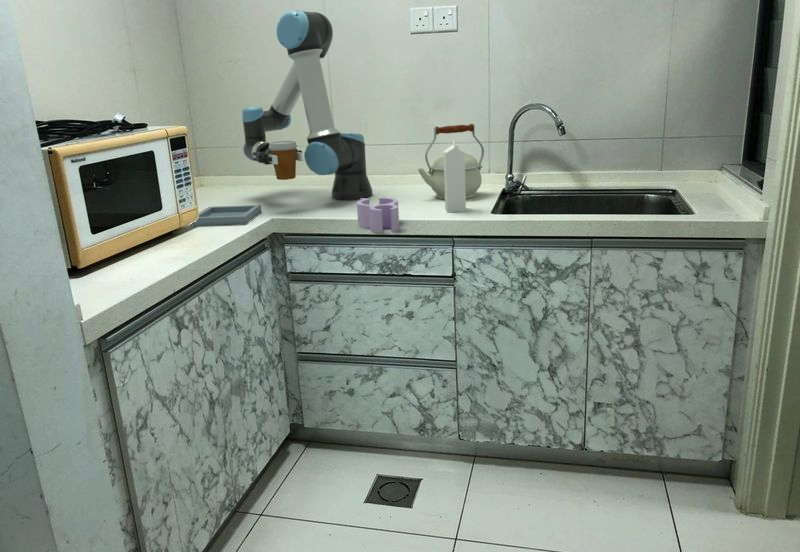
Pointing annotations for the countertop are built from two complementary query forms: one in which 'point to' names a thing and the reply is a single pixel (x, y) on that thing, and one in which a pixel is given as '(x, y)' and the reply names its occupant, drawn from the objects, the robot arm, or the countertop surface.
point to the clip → (378, 214)
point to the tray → (227, 215)
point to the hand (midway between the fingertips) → (289, 158)
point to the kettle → (437, 172)
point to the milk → (454, 179)
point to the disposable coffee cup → (284, 159)
